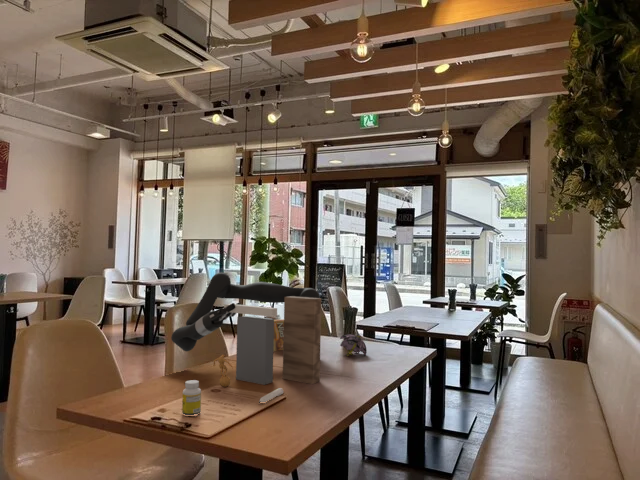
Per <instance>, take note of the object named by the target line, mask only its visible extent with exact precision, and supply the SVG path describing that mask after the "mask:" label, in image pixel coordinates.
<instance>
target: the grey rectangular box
mask: <svg viewBox="0 0 640 480" xmlns="http://www.w3.org/2000/svg"><path fill="white" fill-rule="evenodd" d="M236 319H237V325H236V360H235V362H236V364H235V366H236V367H235V380H238V381H244V382H248V383H254V384H258V385H265V386H266V385H268V384H271V383H273V382H274V380H273V379H274V378H273V377H274V351H273V347H274V320H275V319H274V318H271V317H270V318H268V317H262V316H250V315H244V316H237V318H236Z"/></svg>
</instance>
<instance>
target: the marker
mask: <svg viewBox="0 0 640 480" xmlns="http://www.w3.org/2000/svg"><path fill="white" fill-rule="evenodd" d="M283 394H284V389H283V388H282V387H278V388H277V389H274V390H272V391H271V392H269V393H267V394H265V395H263V396H261V397H260V398H259V402H258V403H260V402H266V401H268V400H270V399H272V398H274V397H276V396H278V397H280V396H281V395H283ZM276 398H277V397H276ZM274 399H275V398H274ZM272 400H273V399H272Z"/></svg>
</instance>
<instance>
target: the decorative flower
mask: <svg viewBox="0 0 640 480" xmlns="http://www.w3.org/2000/svg"><path fill="white" fill-rule="evenodd" d="M339 339H340V340H342V339H343V340H342V342H341V343H340V345H339V346H341V347H344V348H345V349H346V351H347V352H346V357H347V356H349V357H350V356H353V355H354V354H353V353H354V352H358V353H357V354H360V352H361V353H363V356H364V355H365V356H364V357H366V356H367V346H366V343H365V341H364V340H363V339H362V338H361V336H360V335H358V334H357V335H355V334H352V333H348V334H347V333H346V334H343V335H341V336H340V338H339Z"/></svg>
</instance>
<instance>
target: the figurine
mask: <svg viewBox="0 0 640 480" xmlns="http://www.w3.org/2000/svg"><path fill="white" fill-rule="evenodd" d="M217 361H218V364H219V365H218V367H219V369H221V370H220V375H221V377H220V378H219V385H220V386H221V387H223V388H226V387H228V386H229V385H230V384H231V378H230V377H229V376H228V375H227V374H226V373H227V371H228V368H227V366H226V364H225V363H227V364H228V365H229V366H230V368H231V369H232V370H234V367H233V366H232V364H231V363H230V361H228V360H226V359H225V354H221V355H220V356H219V357H217V358H215V359H214V360H213V367H216V364H215V363H216V362H217ZM223 371H224V372H223ZM223 373H224V374H223Z"/></svg>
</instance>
